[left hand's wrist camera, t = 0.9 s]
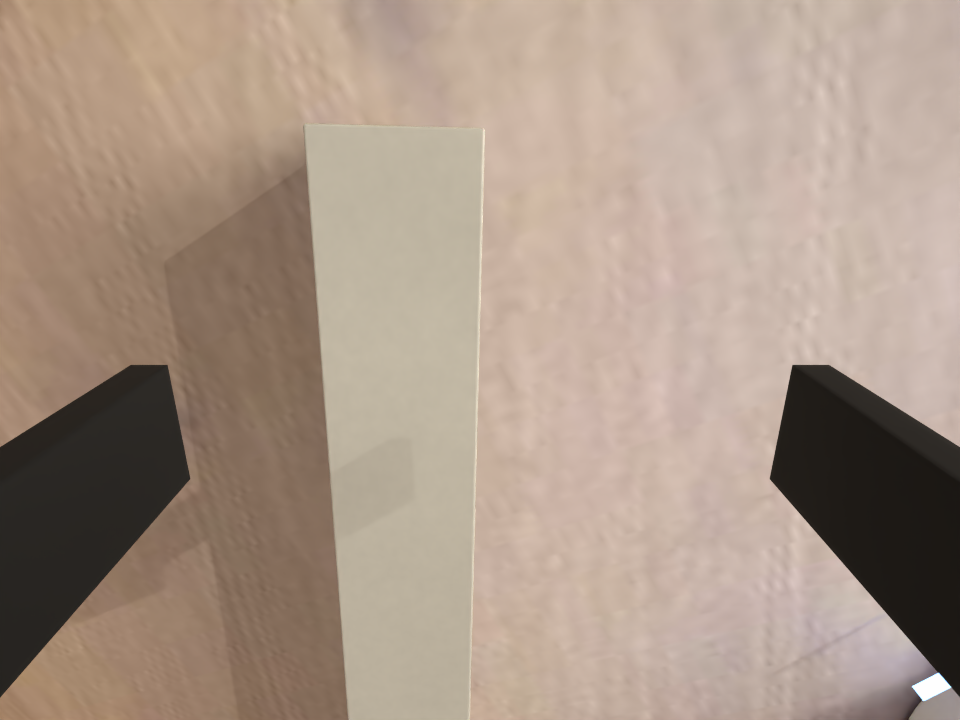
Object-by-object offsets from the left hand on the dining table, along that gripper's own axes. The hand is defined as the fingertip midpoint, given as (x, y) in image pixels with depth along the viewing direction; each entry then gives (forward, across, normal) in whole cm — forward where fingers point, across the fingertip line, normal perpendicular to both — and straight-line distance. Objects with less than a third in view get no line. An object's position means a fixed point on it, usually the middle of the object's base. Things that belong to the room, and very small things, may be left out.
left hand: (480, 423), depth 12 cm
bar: (+16, -3, -24) cm, 29 cm away
